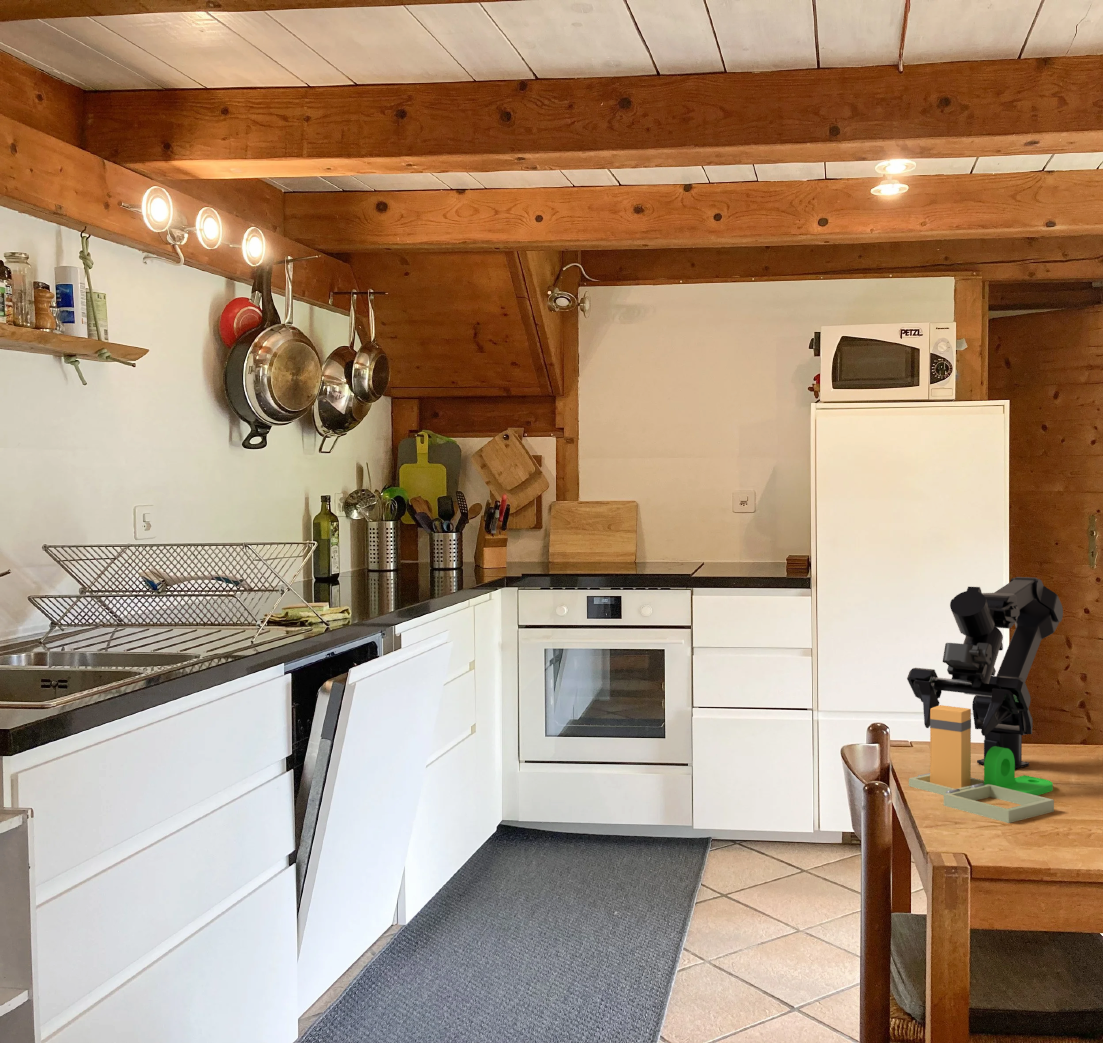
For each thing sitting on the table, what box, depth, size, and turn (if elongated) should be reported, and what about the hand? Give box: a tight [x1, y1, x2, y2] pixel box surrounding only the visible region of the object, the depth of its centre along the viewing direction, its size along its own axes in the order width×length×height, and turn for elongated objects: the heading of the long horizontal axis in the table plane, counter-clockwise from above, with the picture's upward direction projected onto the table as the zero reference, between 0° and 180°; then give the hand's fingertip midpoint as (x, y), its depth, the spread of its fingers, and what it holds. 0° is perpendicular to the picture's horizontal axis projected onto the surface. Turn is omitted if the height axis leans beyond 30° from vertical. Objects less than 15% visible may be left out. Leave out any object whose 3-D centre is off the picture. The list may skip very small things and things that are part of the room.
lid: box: [908, 773, 984, 796], centre depth 174 cm, size 9×9×2 cm
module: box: [929, 704, 972, 789], centre depth 174 cm, size 4×5×13 cm
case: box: [943, 783, 1055, 824], centre depth 162 cm, size 11×12×3 cm
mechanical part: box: [983, 746, 1054, 796], centre depth 172 cm, size 12×6×8 cm, turn 127°
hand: (954, 730), depth 175 cm, fingers open, 9 cm apart
